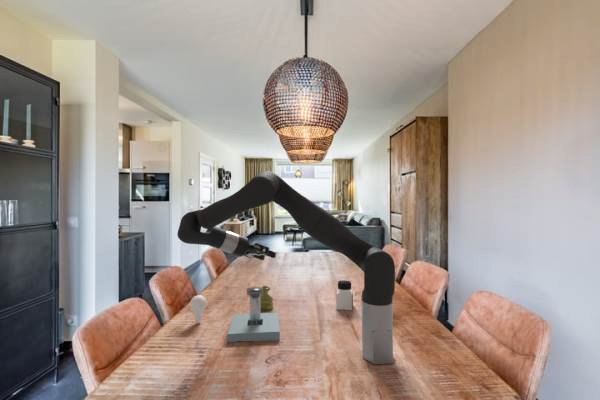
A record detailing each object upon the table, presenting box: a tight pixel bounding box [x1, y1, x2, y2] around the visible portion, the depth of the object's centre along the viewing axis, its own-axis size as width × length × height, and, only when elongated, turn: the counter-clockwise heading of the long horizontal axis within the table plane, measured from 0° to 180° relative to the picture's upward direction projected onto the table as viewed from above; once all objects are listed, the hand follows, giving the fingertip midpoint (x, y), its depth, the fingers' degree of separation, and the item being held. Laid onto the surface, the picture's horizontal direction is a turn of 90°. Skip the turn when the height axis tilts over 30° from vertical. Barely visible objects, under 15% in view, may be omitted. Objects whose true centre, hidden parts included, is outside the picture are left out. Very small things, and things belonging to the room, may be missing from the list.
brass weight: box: [260, 285, 274, 312], centre depth 135 cm, size 7×7×10 cm
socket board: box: [226, 312, 281, 343], centre depth 112 cm, size 18×18×3 cm
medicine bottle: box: [335, 279, 354, 311], centre depth 135 cm, size 7×7×12 cm
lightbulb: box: [189, 294, 207, 324], centre depth 119 cm, size 6×6×11 cm
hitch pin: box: [246, 286, 263, 326], centre depth 112 cm, size 6×6×16 cm
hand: (269, 256), depth 118 cm, fingers open, 8 cm apart
